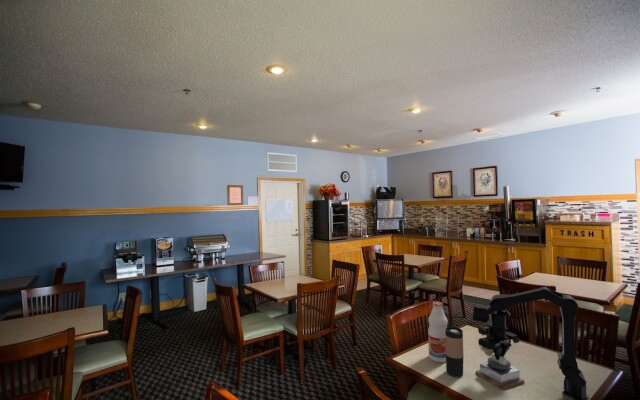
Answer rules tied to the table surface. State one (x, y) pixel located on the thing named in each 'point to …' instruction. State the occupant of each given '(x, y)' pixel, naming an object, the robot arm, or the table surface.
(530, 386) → the table surface
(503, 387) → the walnut plate
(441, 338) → the fruit juice
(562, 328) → the robot arm
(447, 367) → the travel mug
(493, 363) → the grey disc with handle
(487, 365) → the hollow square frame
